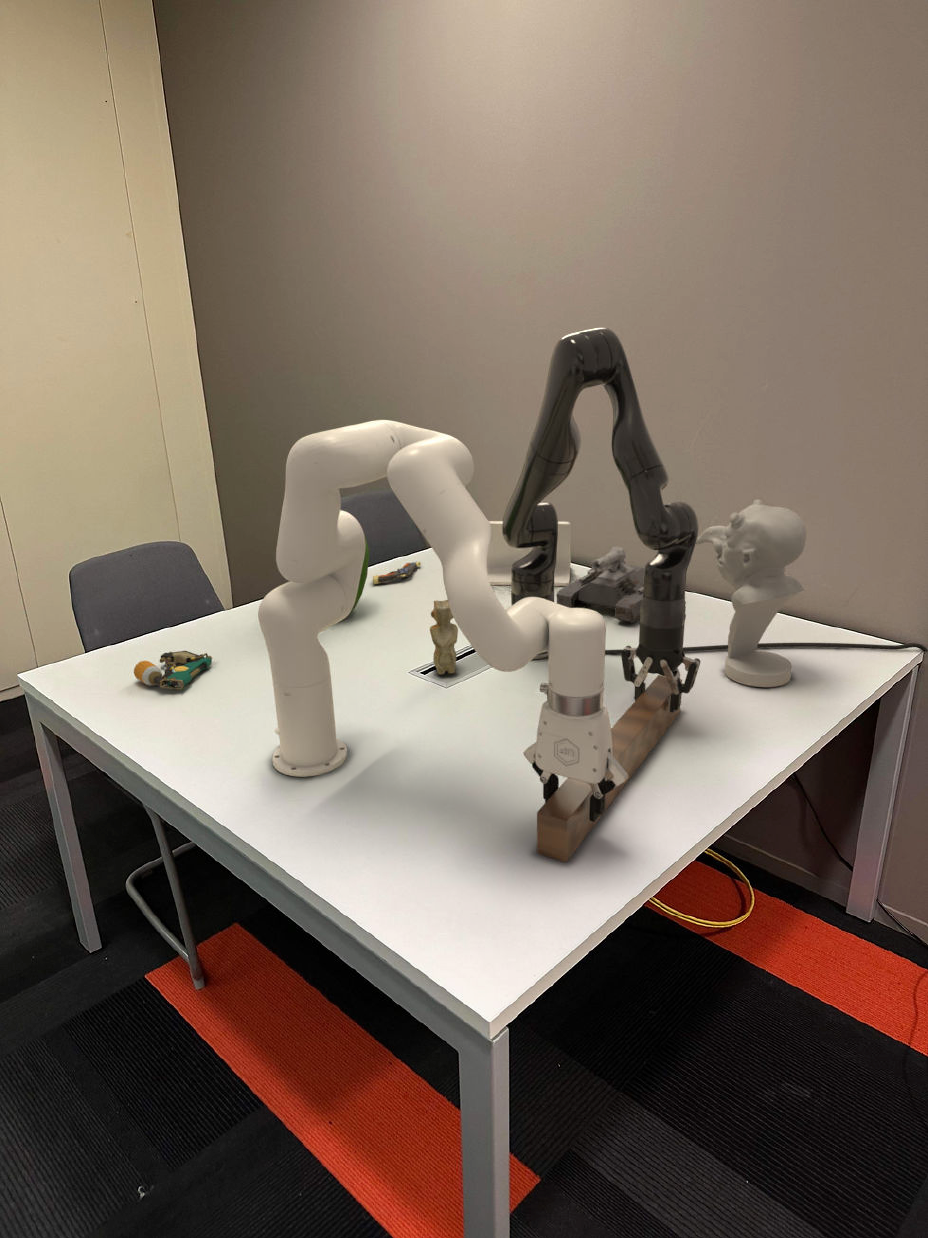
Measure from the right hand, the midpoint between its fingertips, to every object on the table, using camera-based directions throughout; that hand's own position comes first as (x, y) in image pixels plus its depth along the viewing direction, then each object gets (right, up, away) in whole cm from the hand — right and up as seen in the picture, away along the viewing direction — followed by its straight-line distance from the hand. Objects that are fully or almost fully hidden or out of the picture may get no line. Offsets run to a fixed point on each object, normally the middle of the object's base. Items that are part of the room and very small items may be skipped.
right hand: (657, 706), depth 153 cm
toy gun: (-53, +28, +89) cm, 108 cm away
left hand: (-19, -12, -30) cm, 37 cm away
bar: (-9, -9, -13) cm, 19 cm away
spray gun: (-95, +4, +28) cm, 99 cm away
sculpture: (-38, +5, +27) cm, 47 cm away
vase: (-67, +17, +61) cm, 92 cm away
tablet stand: (-17, +28, +86) cm, 93 cm away
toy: (+4, +19, +62) cm, 65 cm away
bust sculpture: (+22, +5, +23) cm, 32 cm away
